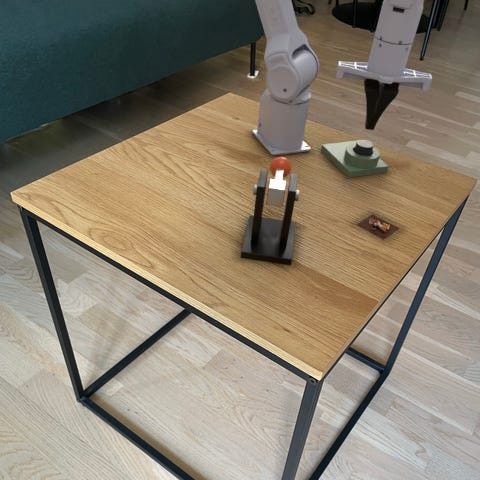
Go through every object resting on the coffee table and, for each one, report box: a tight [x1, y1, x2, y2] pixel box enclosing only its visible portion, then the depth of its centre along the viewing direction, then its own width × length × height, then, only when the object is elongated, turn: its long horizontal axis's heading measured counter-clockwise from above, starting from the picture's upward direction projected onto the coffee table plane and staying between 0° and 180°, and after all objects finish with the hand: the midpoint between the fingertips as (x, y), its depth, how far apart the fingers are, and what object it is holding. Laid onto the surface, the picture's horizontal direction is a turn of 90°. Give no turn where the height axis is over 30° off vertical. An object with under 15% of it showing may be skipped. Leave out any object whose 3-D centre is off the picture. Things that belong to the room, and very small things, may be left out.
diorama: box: [356, 213, 401, 241], centre depth 75 cm, size 3×4×2 cm
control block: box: [320, 140, 389, 178], centre depth 89 cm, size 10×8×3 cm
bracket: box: [240, 169, 301, 266], centre depth 67 cm, size 9×7×10 cm
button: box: [354, 139, 375, 156], centre depth 86 cm, size 3×3×2 cm
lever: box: [265, 156, 292, 208], centre depth 68 cm, size 11×3×3 cm, turn 172°
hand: (369, 127), depth 84 cm, fingers closed
